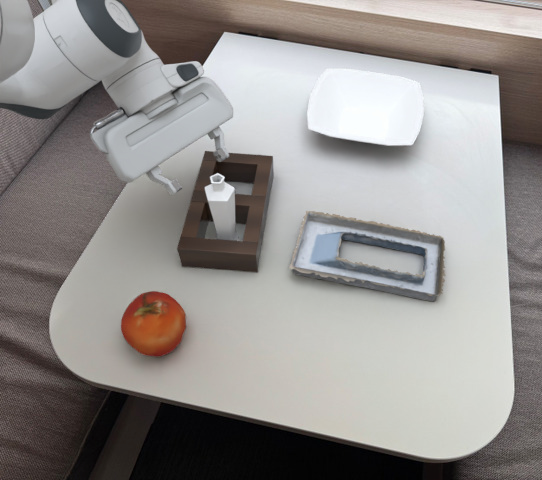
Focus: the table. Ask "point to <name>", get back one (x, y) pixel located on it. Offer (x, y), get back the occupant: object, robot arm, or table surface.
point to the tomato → (153, 323)
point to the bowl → (366, 107)
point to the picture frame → (328, 266)
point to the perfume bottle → (222, 207)
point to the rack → (247, 211)
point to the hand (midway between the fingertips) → (201, 175)
